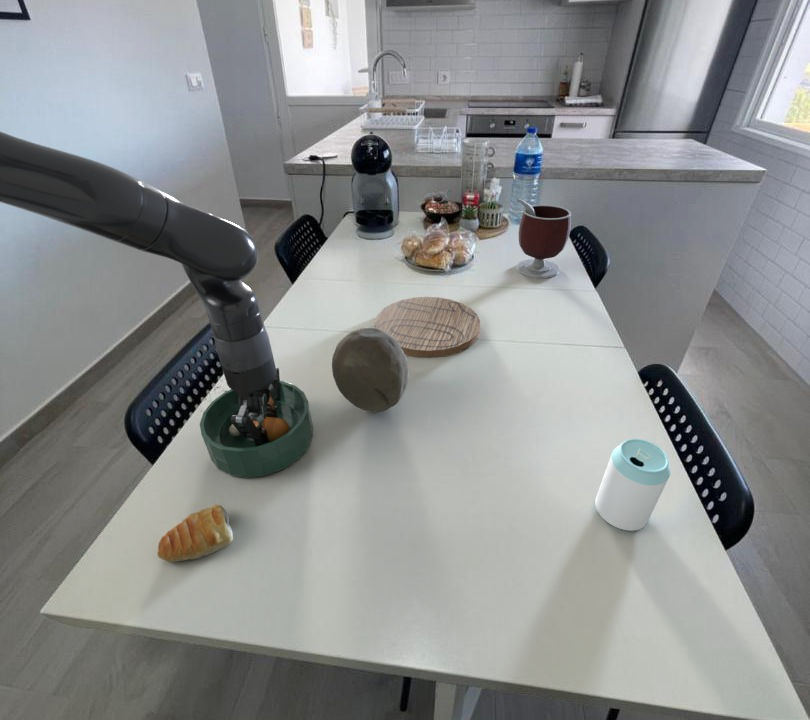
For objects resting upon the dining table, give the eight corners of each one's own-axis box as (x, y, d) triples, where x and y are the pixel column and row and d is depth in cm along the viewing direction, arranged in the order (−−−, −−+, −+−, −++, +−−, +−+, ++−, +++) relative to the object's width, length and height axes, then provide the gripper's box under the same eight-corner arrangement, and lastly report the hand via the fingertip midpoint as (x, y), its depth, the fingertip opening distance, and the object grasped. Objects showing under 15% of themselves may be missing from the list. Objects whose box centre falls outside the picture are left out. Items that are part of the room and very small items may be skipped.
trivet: (392, 298, 120) (392, 292, 119) (486, 309, 114) (486, 302, 113) (360, 349, 100) (359, 342, 99) (471, 365, 94) (471, 357, 93)
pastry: (164, 579, 57) (154, 562, 55) (158, 539, 62) (148, 522, 60) (238, 543, 61) (231, 527, 59) (226, 508, 66) (219, 492, 64)
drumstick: (226, 442, 76) (220, 425, 74) (236, 425, 79) (230, 409, 77) (286, 447, 75) (282, 431, 72) (294, 430, 78) (290, 413, 76)
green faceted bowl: (241, 498, 68) (231, 469, 64) (194, 440, 78) (182, 412, 74) (332, 439, 77) (328, 411, 74) (279, 395, 87) (273, 368, 84)
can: (650, 538, 61) (680, 480, 54) (595, 526, 62) (617, 469, 56) (642, 497, 66) (669, 440, 59) (592, 487, 68) (612, 430, 61)
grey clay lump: (418, 386, 89) (418, 320, 80) (395, 434, 78) (392, 365, 69) (353, 374, 93) (346, 310, 84) (322, 419, 82) (311, 351, 73)
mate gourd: (563, 263, 136) (577, 196, 125) (559, 282, 126) (573, 210, 114) (512, 257, 141) (521, 191, 130) (504, 274, 131) (512, 205, 119)
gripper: (242, 328, 73) (263, 407, 83) (198, 381, 61) (229, 466, 71) (286, 330, 72) (302, 410, 82) (250, 385, 61) (274, 470, 71)
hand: (268, 436), depth 77 cm, fingers closed on drumstick, 4 cm apart
